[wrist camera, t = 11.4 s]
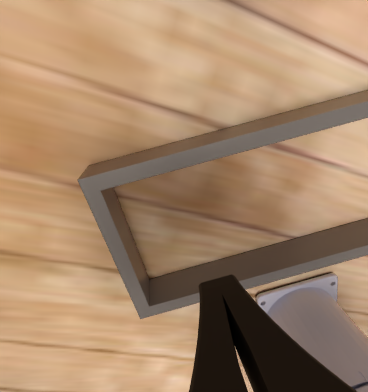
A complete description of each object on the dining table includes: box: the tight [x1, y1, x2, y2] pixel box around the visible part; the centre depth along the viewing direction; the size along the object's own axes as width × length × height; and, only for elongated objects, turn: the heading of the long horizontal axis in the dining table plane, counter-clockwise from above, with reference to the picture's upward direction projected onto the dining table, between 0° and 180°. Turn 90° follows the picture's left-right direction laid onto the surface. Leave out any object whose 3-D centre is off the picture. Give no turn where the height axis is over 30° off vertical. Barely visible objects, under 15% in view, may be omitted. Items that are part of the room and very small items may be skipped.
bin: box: [78, 90, 368, 319], centre depth 19 cm, size 12×24×3 cm, turn 104°
